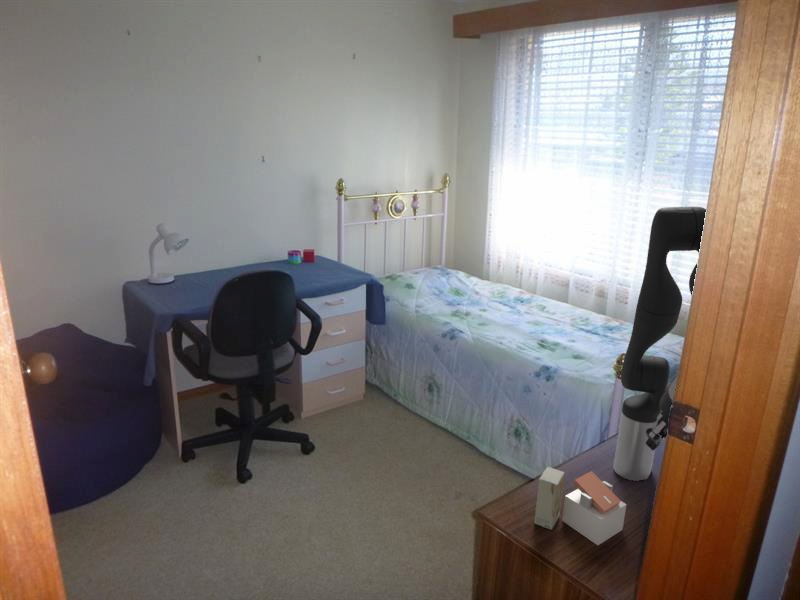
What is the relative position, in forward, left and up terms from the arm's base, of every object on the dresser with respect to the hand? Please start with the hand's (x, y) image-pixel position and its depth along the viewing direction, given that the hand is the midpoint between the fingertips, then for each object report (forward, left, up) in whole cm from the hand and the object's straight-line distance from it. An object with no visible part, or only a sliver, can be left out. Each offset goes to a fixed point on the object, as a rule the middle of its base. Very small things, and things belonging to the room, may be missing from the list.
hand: (650, 445), depth 125 cm
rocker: (+3, -10, -17) cm, 20 cm away
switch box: (+3, -9, -25) cm, 27 cm away
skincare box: (+10, -17, -25) cm, 32 cm away
